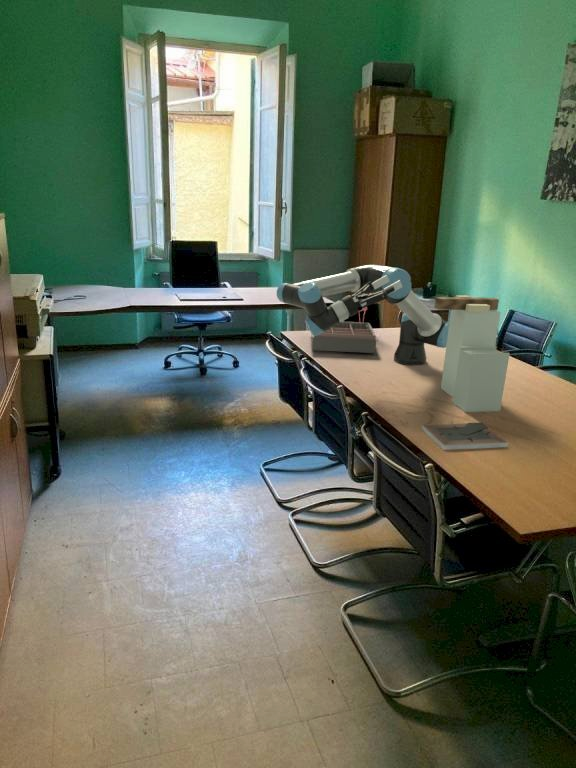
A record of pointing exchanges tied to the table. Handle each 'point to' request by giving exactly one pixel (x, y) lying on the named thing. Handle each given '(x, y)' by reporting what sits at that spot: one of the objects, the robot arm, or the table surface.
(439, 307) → the walnut batten
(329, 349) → the organizer tray
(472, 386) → the pale grey rectangular block
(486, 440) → the picture frame
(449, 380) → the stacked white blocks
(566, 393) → the table surface
